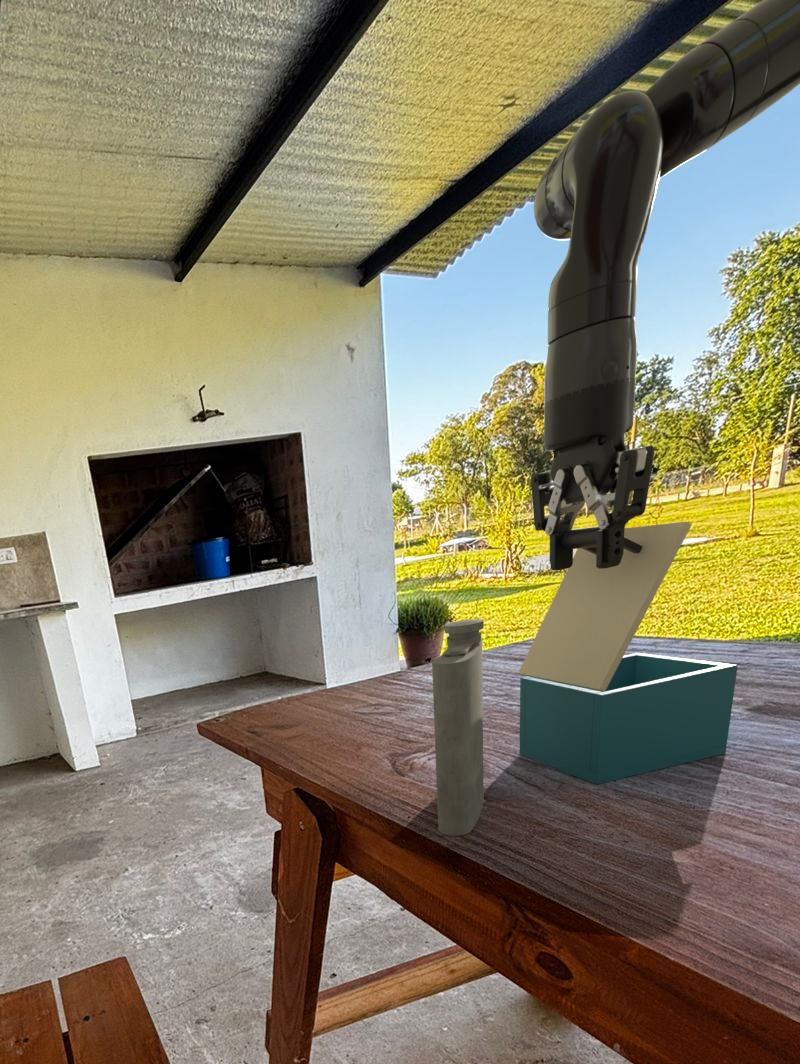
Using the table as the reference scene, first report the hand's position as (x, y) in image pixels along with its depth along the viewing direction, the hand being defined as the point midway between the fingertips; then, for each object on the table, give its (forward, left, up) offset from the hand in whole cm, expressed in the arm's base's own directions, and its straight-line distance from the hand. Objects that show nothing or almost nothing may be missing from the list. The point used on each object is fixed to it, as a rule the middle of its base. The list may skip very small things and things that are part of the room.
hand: (583, 567), depth 65 cm
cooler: (-5, 0, -22) cm, 23 cm away
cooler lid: (-2, 0, -5) cm, 5 cm away
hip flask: (+17, +4, -22) cm, 28 cm away
